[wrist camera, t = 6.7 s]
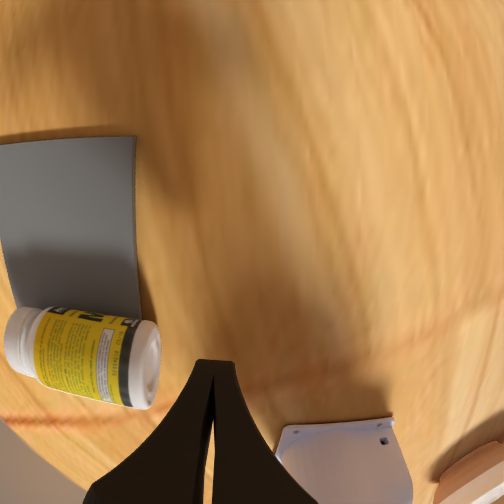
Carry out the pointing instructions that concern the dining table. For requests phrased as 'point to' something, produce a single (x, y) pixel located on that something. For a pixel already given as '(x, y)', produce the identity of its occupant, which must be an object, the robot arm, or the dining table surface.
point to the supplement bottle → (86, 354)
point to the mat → (71, 224)
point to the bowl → (474, 477)
